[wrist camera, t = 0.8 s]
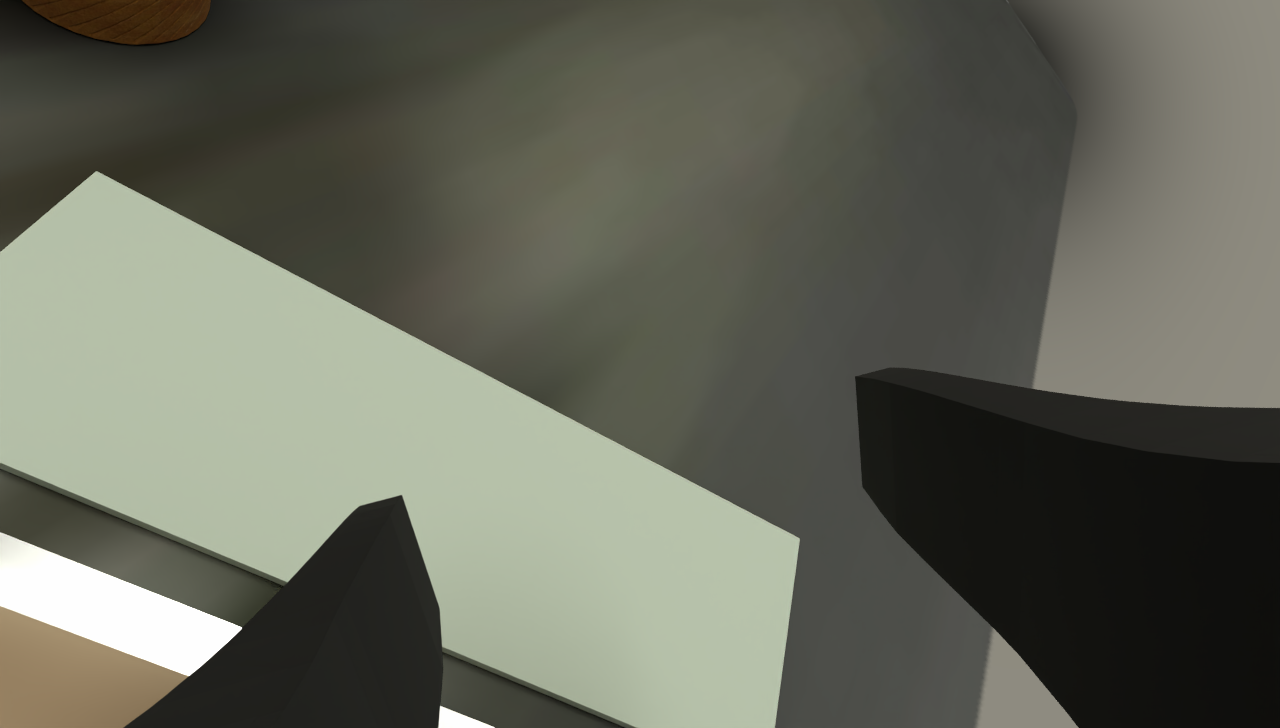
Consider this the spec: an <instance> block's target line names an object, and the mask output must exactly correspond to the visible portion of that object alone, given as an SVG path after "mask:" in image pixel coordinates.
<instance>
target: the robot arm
mask: <svg viewBox="0 0 1280 728" xmlns="http://www.w3.org/2000/svg"><path fill="white" fill-rule="evenodd" d="M855 380H856V395H857V410H858V425H859V441H860V456H861V471H862V486H863V488H864V489H865V491H866V492H867V493H868V495H869V496H870V498H871V499H872V500H873V502H874V503H875V505H876V506H877V507H878V509H879V510H880V512H881V513H882V514H883V515H884V517H885V518H886V519H887V521H888V522H889V523H890V524H891V526H892V527H893V528H894V529H895V531H896V532H897V533H898V534H899V535H900V536H901V537H902V538H903V539H904V540H905V541H906V542H907V543H908V544H909V545H910V546H911V547H912V548H913V549H914V550H915V551H916V552H917V553H918V554H919V555H920V556H921V557H922V558H923V559H924V560H925V561H926V562H927V563H928V564H929V565H930V566H931V567H932V568H933V569H934V570H935V571H936V572H937V573H938V574H939V575H940V576H941V577H942V578H943V579H944V580H945V581H946V582H947V583H948V584H949V585H950V586H951V587H952V588H953V589H954V590H955V591H956V592H957V593H958V594H959V595H960V596H961V597H962V598H963V599H964V600H965V601H966V602H967V603H968V604H969V605H970V606H972V607H973V608H974V609H975V610H976V611H977V612H978V613H979V614H980V615H981V616H982V617H983V618H984V619H985V620H986V621H987V622H988V623H989V624H990V625H991V626H992V627H993V628H994V629H995V630H996V631H997V632H998V633H999V634H1000V635H1001V636H1002V637H1003V638H1004V639H1005V640H1006V642H1007V643H1008V644H1009V645H1010V646H1011V647H1012V648H1013V649H1014V650H1015V651H1016V652H1017V653H1018V654H1019V655H1020V656H1021V658H1022V659H1023V660H1024V661H1025V662H1026V664H1027V665H1028V666H1029V667H1030V669H1031V670H1032V671H1033V672H1034V673H1035V675H1036V676H1037V677H1038V678H1039V679H1040V681H1041V682H1042V683H1043V684H1044V685H1045V687H1046V688H1047V689H1048V690H1049V691H1050V693H1051V694H1052V695H1053V696H1054V697H1055V699H1056V700H1057V701H1058V702H1059V704H1060V705H1061V706H1062V707H1063V708H1064V709H1065V711H1066V712H1067V713H1068V714H1069V716H1070V717H1071V718H1072V720H1073V721H1074V722H1075V724H1076V725H1077V726H1078V727H1079V728H1280V408H1232V407H1200V406H1199V407H1197V406H1179V405H1166V404H1153V403H1140V402H1127V401H1117V400H1107V399H1099V398H1091V397H1084V396H1077V395H1069V394H1062V393H1055V392H1048V391H1042V390H1036V389H1030V388H1024V387H1018V386H1012V385H1006V384H1000V383H995V382H989V381H984V380H978V379H973V378H967V377H961V376H956V375H950V374H944V373H938V372H932V371H925V370H917V369H908V368H886V369H883V370H879V371H875V372H871V373H867V374H863V375H860V376H856V377H855ZM442 676H443V658H442V637H441V621H440V608H439V605H438V602H437V599H436V596H435V593H434V590H433V587H432V584H431V581H430V578H429V575H428V572H427V569H426V566H425V563H424V560H423V557H422V553H421V550H420V547H419V544H418V541H417V538H416V535H415V532H414V529H413V526H412V523H411V520H410V517H409V514H408V511H407V508H406V505H405V502H404V499H403V496H402V495H399V496H396V497H392V498H388V499H384V500H380V501H376V502H373V503H369V504H365V505H361V506H359V507H358V508H356V509H355V510H354V511H353V512H352V513H351V514H350V515H349V516H348V517H347V518H346V519H345V520H344V521H343V522H342V523H341V524H340V526H339V527H338V528H337V529H336V530H335V531H334V532H333V533H332V534H331V535H330V537H329V538H328V539H327V540H326V541H325V542H324V543H323V544H322V545H321V547H320V548H319V549H318V550H317V551H316V552H315V553H314V554H313V555H312V556H311V558H310V559H309V560H308V561H307V562H306V563H305V564H304V565H303V566H302V567H301V568H300V570H299V571H298V572H297V573H296V574H295V575H294V576H293V577H292V578H291V579H290V580H289V582H288V583H287V584H286V585H285V586H284V587H283V588H282V589H281V590H280V591H279V592H278V593H277V594H276V595H275V596H274V597H273V598H272V599H271V600H270V601H269V602H268V603H267V604H266V605H265V606H264V607H263V608H262V609H261V610H260V611H259V612H258V613H257V614H256V615H255V616H254V617H253V618H252V619H251V620H250V621H249V622H248V623H247V624H246V625H245V626H244V627H243V628H242V629H241V630H240V631H239V632H238V633H237V634H236V635H235V636H234V637H232V638H231V639H230V640H229V641H228V642H227V643H226V644H225V645H224V646H223V647H222V648H221V649H219V650H218V651H217V652H216V653H215V654H214V655H213V656H212V657H210V658H209V659H208V660H207V661H206V662H205V663H204V664H203V665H201V666H200V667H199V668H198V669H197V670H195V671H194V672H193V673H192V674H191V675H189V676H188V677H187V678H186V679H185V680H183V681H182V682H181V683H180V684H179V685H177V686H176V687H175V688H174V689H173V690H171V691H170V692H169V693H168V694H167V695H165V696H164V697H163V698H162V699H160V700H159V701H158V702H157V703H155V704H154V705H153V706H152V707H150V708H149V709H148V710H146V711H145V712H144V713H142V714H141V715H140V716H138V717H137V718H135V719H134V720H133V721H131V722H130V723H129V724H127V725H126V726H125V727H123V728H438V727H439V715H440V702H441V690H442Z"/></svg>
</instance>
